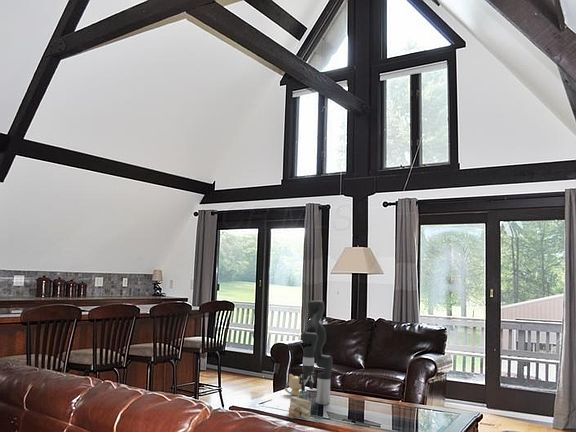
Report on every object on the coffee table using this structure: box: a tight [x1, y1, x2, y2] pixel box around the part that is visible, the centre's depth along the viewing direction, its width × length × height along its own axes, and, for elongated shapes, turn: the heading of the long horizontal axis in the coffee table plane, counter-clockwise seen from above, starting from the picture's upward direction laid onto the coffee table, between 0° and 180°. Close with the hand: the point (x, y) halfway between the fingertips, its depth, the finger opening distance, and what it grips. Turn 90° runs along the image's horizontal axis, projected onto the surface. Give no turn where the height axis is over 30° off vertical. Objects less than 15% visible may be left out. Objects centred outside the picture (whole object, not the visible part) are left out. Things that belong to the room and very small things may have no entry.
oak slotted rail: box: [287, 406, 302, 419], centre depth 329 cm, size 18×4×6 cm, turn 141°
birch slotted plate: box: [289, 396, 312, 419], centre depth 329 cm, size 4×14×10 cm, turn 51°
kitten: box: [284, 373, 306, 398], centre depth 383 cm, size 15×10×15 cm
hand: (307, 390), depth 328 cm, fingers open, 8 cm apart
